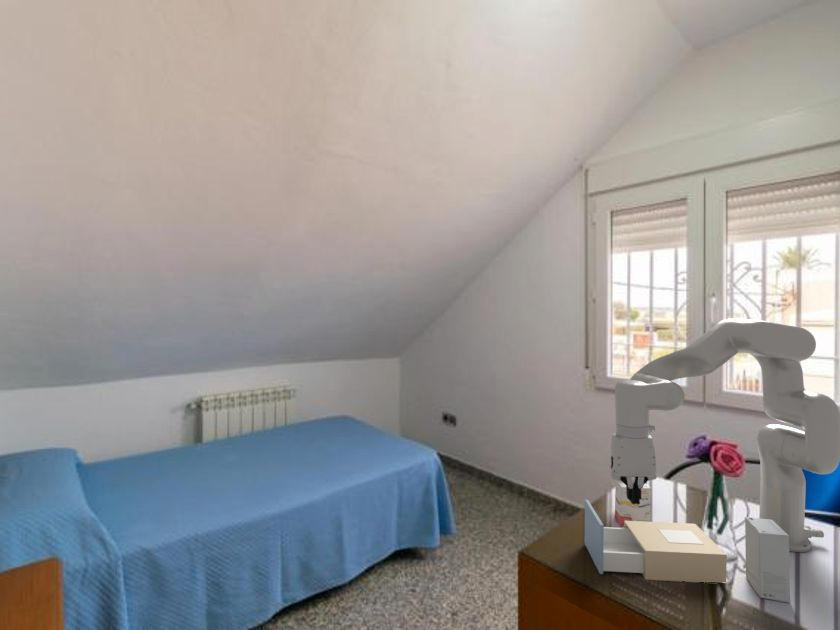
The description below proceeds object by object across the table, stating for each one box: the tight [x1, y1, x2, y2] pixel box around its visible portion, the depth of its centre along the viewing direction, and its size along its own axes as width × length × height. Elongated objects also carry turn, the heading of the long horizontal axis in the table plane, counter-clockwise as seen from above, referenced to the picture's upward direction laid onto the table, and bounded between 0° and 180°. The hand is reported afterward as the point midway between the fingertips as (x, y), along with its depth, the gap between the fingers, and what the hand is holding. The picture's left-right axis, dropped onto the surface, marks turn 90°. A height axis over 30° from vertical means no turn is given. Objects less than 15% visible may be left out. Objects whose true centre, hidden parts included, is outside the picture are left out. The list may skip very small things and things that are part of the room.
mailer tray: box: [584, 499, 645, 575], centre depth 110 cm, size 18×13×12 cm
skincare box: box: [744, 516, 791, 604], centre depth 100 cm, size 8×6×15 cm
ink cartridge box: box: [614, 477, 652, 527], centre depth 129 cm, size 9×5×15 cm, turn 84°
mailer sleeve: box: [623, 521, 728, 584], centre depth 110 cm, size 18×14×7 cm
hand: (633, 501), depth 110 cm, fingers closed
